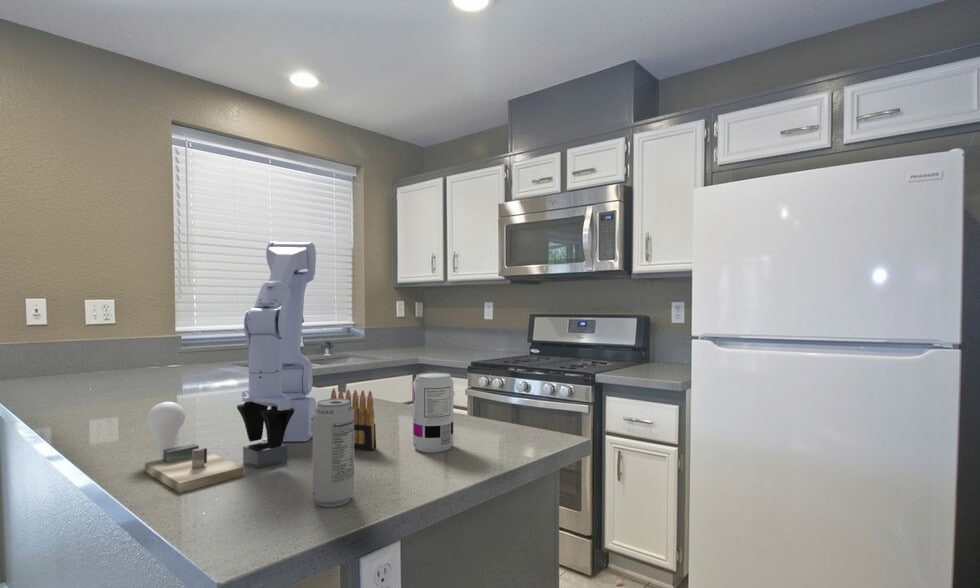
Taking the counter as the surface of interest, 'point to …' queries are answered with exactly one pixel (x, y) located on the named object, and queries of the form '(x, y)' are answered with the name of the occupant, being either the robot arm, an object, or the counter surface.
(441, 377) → the supplement can
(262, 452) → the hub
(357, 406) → the ammunition clip
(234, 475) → the stand
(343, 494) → the energy drink can
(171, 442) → the lightbulb
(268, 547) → the counter surface
